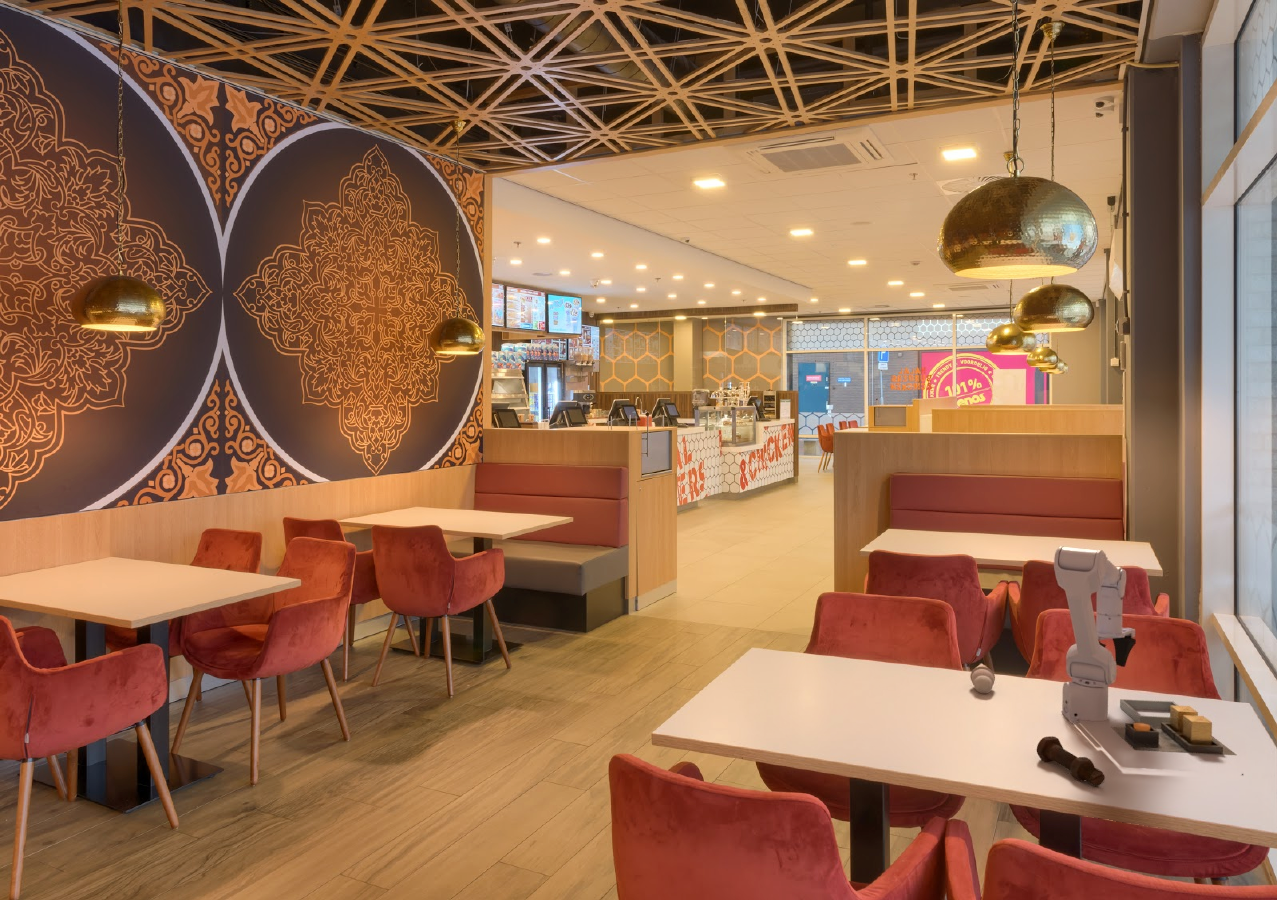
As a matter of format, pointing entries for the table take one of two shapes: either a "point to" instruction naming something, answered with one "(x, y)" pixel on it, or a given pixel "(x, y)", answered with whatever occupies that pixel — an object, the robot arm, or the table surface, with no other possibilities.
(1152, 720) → the tote
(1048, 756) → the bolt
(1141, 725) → the button
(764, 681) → the table surface
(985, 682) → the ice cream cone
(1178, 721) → the billet
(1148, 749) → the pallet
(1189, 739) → the billet
